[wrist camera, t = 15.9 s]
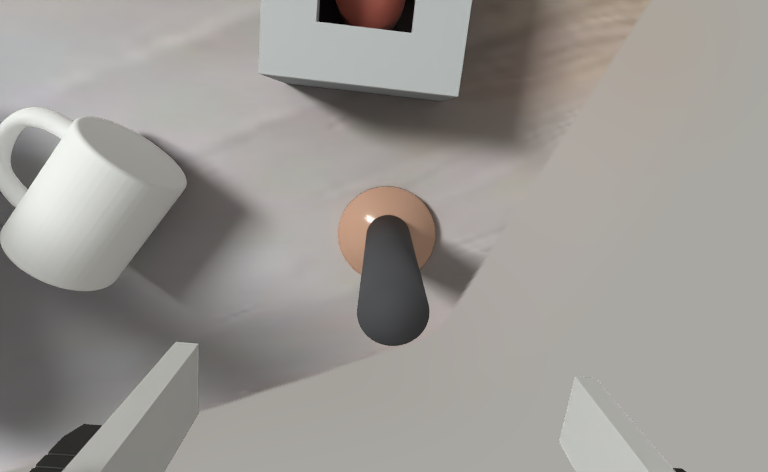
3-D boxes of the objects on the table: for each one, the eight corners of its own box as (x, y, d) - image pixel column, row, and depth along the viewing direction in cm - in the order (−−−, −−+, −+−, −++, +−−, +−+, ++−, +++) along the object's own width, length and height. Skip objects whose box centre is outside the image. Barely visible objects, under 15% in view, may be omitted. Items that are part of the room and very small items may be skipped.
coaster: (335, 274, 38) (334, 276, 38) (343, 181, 36) (342, 182, 36) (427, 283, 39) (428, 285, 38) (440, 191, 37) (441, 192, 36)
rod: (364, 254, 37) (353, 342, 23) (368, 212, 36) (360, 275, 22) (407, 259, 37) (424, 348, 23) (412, 217, 37) (434, 282, 22)
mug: (203, 181, 36) (156, 198, 29) (136, 270, 38) (74, 308, 31) (74, 79, 34) (-15, 68, 27) (9, 178, 36) (-92, 194, 28)
